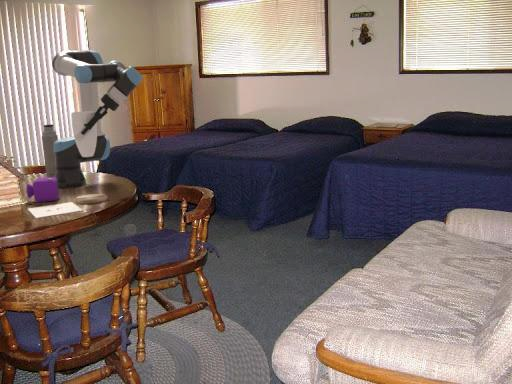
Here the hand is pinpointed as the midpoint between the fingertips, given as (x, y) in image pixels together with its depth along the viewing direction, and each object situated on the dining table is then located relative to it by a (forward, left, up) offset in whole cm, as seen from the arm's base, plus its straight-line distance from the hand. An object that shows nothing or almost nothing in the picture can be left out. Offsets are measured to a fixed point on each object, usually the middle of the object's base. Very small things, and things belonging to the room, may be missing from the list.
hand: (78, 138), depth 235 cm
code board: (+7, -14, -27) cm, 32 cm away
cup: (+1, +3, -11) cm, 11 cm away
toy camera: (-15, -14, -28) cm, 34 cm away
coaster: (0, +3, -27) cm, 27 cm away
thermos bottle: (-72, +3, -28) cm, 77 cm away
